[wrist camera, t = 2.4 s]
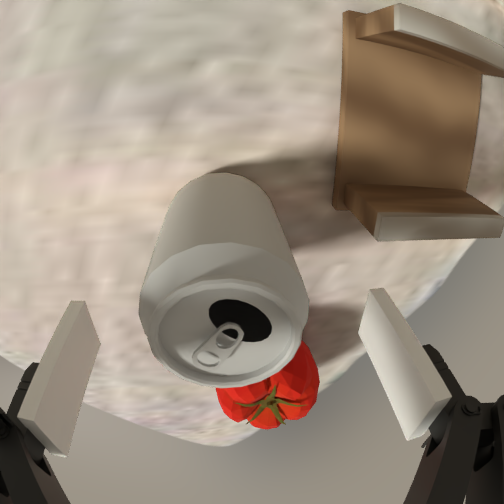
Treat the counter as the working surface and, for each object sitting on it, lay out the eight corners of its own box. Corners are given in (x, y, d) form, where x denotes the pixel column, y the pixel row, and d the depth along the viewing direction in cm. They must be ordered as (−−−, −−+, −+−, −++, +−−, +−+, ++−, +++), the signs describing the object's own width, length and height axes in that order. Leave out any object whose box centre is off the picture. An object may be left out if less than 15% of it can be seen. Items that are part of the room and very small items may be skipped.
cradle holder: (342, 12, 16) (390, -8, 10) (474, 52, 17) (532, 58, 11) (331, 204, 23) (368, 249, 17) (454, 207, 24) (501, 243, 18)
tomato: (319, 353, 31) (339, 413, 24) (244, 386, 32) (250, 446, 26) (279, 292, 26) (297, 361, 20) (191, 335, 28) (187, 404, 21)
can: (295, 214, 23) (354, 332, 12) (226, 281, 25) (235, 415, 15) (214, 146, 20) (210, 223, 9) (147, 226, 22) (100, 351, 12)
